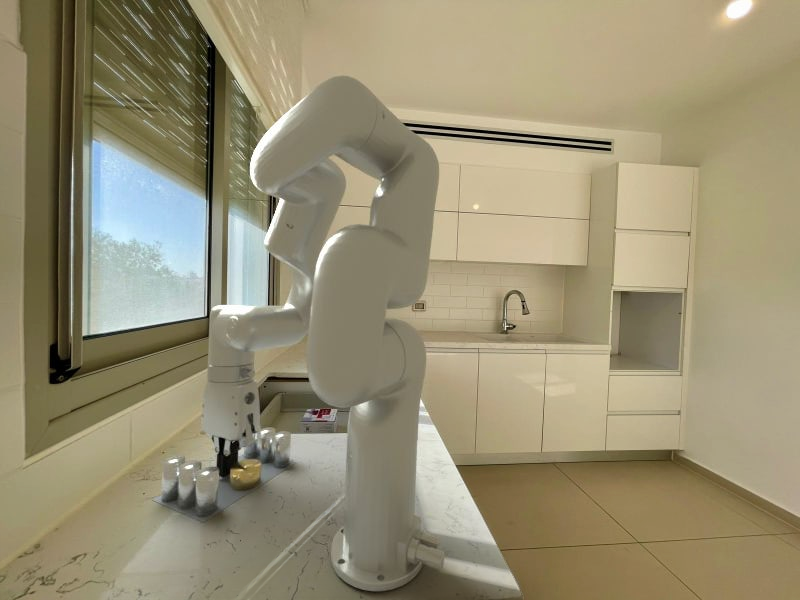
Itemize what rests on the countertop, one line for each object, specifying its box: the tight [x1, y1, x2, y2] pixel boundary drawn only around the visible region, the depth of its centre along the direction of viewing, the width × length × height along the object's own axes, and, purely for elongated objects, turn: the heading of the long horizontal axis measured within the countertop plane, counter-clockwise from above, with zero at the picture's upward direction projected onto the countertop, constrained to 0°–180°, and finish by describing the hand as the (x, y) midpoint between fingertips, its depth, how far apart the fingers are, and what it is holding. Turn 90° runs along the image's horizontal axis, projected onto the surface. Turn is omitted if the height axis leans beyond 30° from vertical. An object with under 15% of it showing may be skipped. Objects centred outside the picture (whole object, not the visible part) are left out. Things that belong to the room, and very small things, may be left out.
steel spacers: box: [161, 424, 292, 517], centre depth 60 cm, size 11×19×6 cm, turn 157°
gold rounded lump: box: [230, 459, 262, 491], centre depth 58 cm, size 5×5×3 cm
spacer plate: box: [151, 453, 297, 523], centre depth 60 cm, size 12×20×1 cm, turn 157°
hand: (227, 473), depth 60 cm, fingers closed
